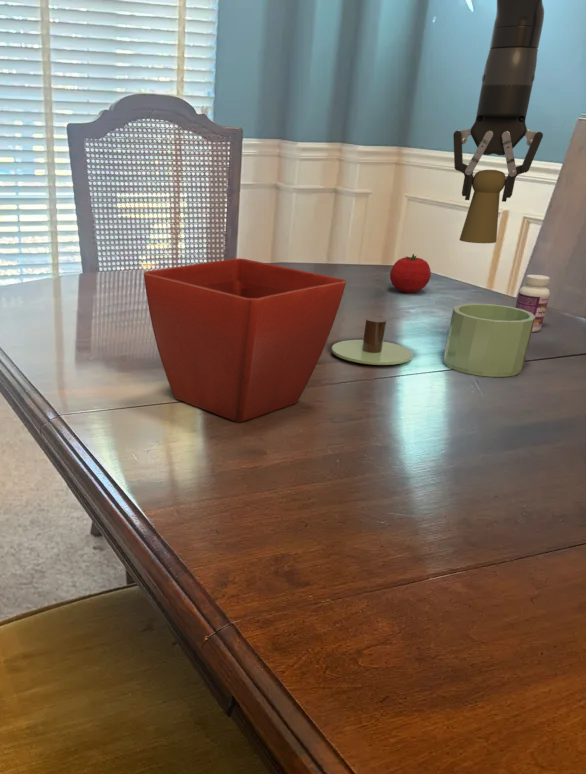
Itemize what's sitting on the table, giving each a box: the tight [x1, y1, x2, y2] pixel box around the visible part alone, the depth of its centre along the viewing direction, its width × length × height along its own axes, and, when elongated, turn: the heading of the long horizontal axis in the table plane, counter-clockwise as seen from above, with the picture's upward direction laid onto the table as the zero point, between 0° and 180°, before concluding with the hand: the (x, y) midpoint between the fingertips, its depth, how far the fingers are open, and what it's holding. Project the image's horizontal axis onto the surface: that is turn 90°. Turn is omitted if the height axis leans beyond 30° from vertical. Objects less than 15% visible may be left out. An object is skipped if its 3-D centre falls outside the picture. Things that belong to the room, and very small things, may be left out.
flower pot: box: [143, 258, 347, 423], centre depth 102 cm, size 19×19×17 cm
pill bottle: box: [514, 274, 551, 333], centre depth 144 cm, size 5×5×10 cm
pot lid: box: [331, 316, 413, 366], centre depth 126 cm, size 13×13×6 cm
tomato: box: [389, 253, 432, 294], centre depth 171 cm, size 9×9×8 cm
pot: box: [443, 303, 535, 378], centre depth 122 cm, size 12×12×8 cm
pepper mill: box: [459, 169, 506, 244], centre depth 130 cm, size 6×6×11 cm
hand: (485, 200), depth 129 cm, fingers closed on pepper mill, 5 cm apart
